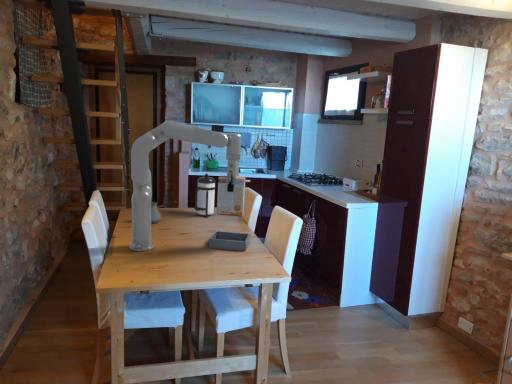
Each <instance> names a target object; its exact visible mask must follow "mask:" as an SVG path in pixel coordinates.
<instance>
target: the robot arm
mask: <svg viewBox="0 0 512 384" xmlns="http://www.w3.org/2000/svg"><path fill="white" fill-rule="evenodd" d="M169 139H172V140H177V141H178V140H179V141H184V142H188V143H192V144H200V145H204V146H209V147H210V146H211V147H215V148H220V149H221V148H225V147H226V149H225V151H226V152H225V153H226V154H225V160H227V168H226V176H227V178H228V187H227V191H228V192H233V190H234V184H233V182H234V178H235V179H236V178H237V177H240V176H239V171H240V170H239V167H240V161H241V152H242V149H241V148H242V147H241V146H242V135H241V134H240V133H234V132H232V133H227V132H221V131H215V130H214V131H213V130H209V129H205V128H201V127H199V126H196V125H193V124H192V125H191V124H187V123H182V122H179V121H178V122H177V121H173V120H166V121H163V122H162V123H160V124H159V125H158V126H156V127H154V128H153V129H151V130H149V131H147V132H146V133H144V134H142V135H141V136H139V137H138V138H136V140H134V142H133V144H132V147H131V151H130V158H131V159H130V165H131V166H130V168H131V176H130V178H131V181H132V188H133V189H132V190H133V192H132V194H131V199H130V200H131V201H130V202H131V243H130V244H129V245H128V249H129V250H131V251H136V252H146V251H150V250H152V249H154V247H155V244H154V243H152V224H151V202H152V195H153V190H152V189H153V188H152V172H151V170H150V165H149V161H150V159H149V155H150V152H151V151H152V150H154V149H156V148H157V147H158V146H159V145H161V144H162V143H164V142H166V141H168V140H169ZM231 177H232V178H231Z"/></svg>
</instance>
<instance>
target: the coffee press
mask: <svg viewBox="0 0 512 384" xmlns="http://www.w3.org/2000/svg"><path fill="white" fill-rule="evenodd" d="M196 181H197V182H196V183H197V186H196V187H197V188H195V191H194V194H193V209H194V210H195V212H194V215H196V216H198V215H201V216H205V218H207V219H208V216H211V215H214V216H216V215H217V213H215V201H216V200H215V199H216V198H215V197H216V196H215V195H216V180H215V178H214V177H211V176H209V174H208V173H205V174H204V176H200V177H198V179H197V180H196Z"/></svg>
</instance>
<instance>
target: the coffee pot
mask: <svg viewBox="0 0 512 384" xmlns="http://www.w3.org/2000/svg"><path fill="white" fill-rule="evenodd" d="M174 203H175V204H177V203H178V202H177V200H174V201H173V200H172V201H171V202H167V203H164V204H162V205H158V202H157V201H151V225H152V224H158V223H159V222H160V221H161V220H162V214H161V213H160V211H159V208H162V207H165V206H169V205H171V204H174Z"/></svg>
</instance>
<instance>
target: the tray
mask: <svg viewBox="0 0 512 384" xmlns="http://www.w3.org/2000/svg"><path fill="white" fill-rule="evenodd" d="M250 239H251V234H250V233H247V232H246V233H243V232H231V231H223V230H222V231H220V230H215V231H214V232H213V234H212V235H211V236H210V237H209V239H208V248H209V249H218V250H229V251H238V252H239V251H241V252H246V251H247V249H248V246H249V244H250Z"/></svg>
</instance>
